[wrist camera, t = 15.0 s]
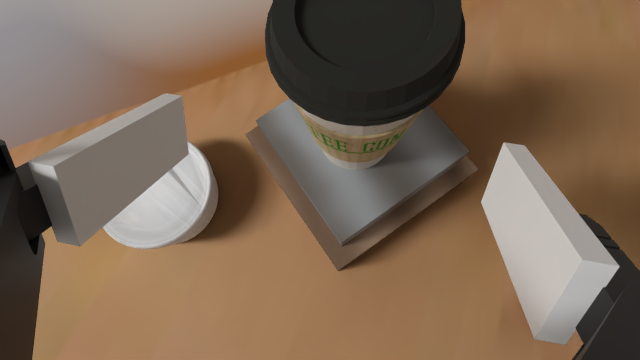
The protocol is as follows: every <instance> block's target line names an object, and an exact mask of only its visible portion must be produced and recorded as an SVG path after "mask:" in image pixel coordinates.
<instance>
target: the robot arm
mask: <svg viewBox="0 0 640 360" xmlns="http://www.w3.org/2000/svg"><path fill="white" fill-rule="evenodd" d="M188 154H189V151H188V142H187V133H186V124H185V116H184V107H183V98H182V96H180V95H173V94H166V93H165V94H163V95H161V96H159V97H157V98H155V99H153V100H151V101H149V102H147V103H145V104H143V105H141V106H139V107H137V108H135V109H133V110H131V111H129V112H127V113H125V114H123V115H121V116H119V117H117V118H115V119H113V120H111V121H109V122H107V123H105V124H103V125H101V126H99V127H97V128H95V129H93V130H91V131H89V132H87V133H85V134H83V135H81V136H79V137H77V138H75V139H73V140H70V141H68V142H66V143H64V144H62V145H60V146H58V147H56V148H54V149H52V150H50V151H48V152H46V153H44V154H42V155H40V156H38V157H36V158H34V159H32V160H30V161H28V162H27V163H25V164H23V165H21V166H19V167H17V168H15V166H14V163H13V161H12V158H11V156H10V153H9V151H8V148H7V146H6V143H5V141H3V140H0V360H32V355H33V346H34V337H35V328H36V319H37V310H38V301H39V292H40V284H41V275H42V266H43V257H44V248H45V242H44V239H43V236H42V234H41V233H42V232H44V231H45V230H47V229H48V228H49V227H51V226H52V228H53V231H54V234H55V236H56V239H57V242H61V243H66V244H71V245H76V246H81V245H82V244H83V243H85V242H86V241H87V240H88V239H89V238H91V237H92V236H93V235H94V234H95V233H96V232H98V231H99V230H100V229H101V228H102V227H103V226H105V225H106V224H107V223H108V222H109V221H111V220H112V219H113V218H114V217H115V216H116V215H118V214H119V213H120V212H121V211H122V210H124V209H125V208H126V207H127V206H128V205H129V204H131V203H132V202H133V201H134V200H135V199H136V198H138V197H139V196H140V195H141V194H142V193H144V192H145V191H146V190H147V189H148V188H149V187H151V186H152V185H153V184H154V183H155V182H157V181H158V180H159V179H160V178H161V177H162V176H164V175H165V174H166V173H167V172H168V171H169V170H171V169H172V168H173V167H174V166H175V165H177V164H178V163H179V162H180V161H181V160H182V159H184V158H185V157H186V156H187V155H188ZM481 203H482V206H483V208H484V211H485V214H486V216H487V219H488V221H489V224H490V226H491V229H492V232H493V234H494V237H495V239H496V242H497V244H498V247H499V250H500V252H501V255H502V257H503V260H504V262H505V265H506V268H507V270H508V273H509V275H510V278H511V280H512V283H513V285H514V288H515V291H516V293H517V296H518V298H519V301H520V303H521V306H522V309H523V311H524V314H525V316H526V319H527V321H528V324H529V327H530V329H531V332H532V334H533V337H534V339H538V340H543V341H548V342H553V343H558V344H562V345H566V343H567V342H568V341H569V339H570V338H571V336H572V335H573V333H574V332H575V330H577V332H578V334H579V336H580V337H581V339H582V341H583V343H584V344H583V345H582V347H581V348H580V349H579V351H578V352H577V353H576V355H575V356H574V357H573V359H572V360H640V271H639V270H638V269H637V268H636V266H635V265H634V264H633V263H632V262H631V261H630V259H629V258H628V257H627V256H626V255H625V253H624V252H623V251H622V250H620V247H619V246H618V245H617V244H616V243H615V241H614V240H611V239H612V238H611V237H610V236H609V234H608V233H607V232H606V231H605V230H604V228H603V227H602V226H601V225H599V224H598V223H596V222H595V221H594V220H592V219H591V218H589V217H588V216H587V215H582V214H578V213H577V212H576V210H575V209H574V208H573V206H572V205H571V204H570V203H569V201H568V200H567V199H566V198H565V196H564V195H563V194H562V192H561V191H560V190H559V189H558V187H557V186H556V185H555V184H554V182H553V181H552V180H551V178H550V177H549V176H548V175H547V173H546V172H545V171H544V170H543V168H542V167H541V166H540V164H539V163H538V162H537V161H536V159H535V158H534V157H533V156H532V154H531V153H530V152H529V150H528V149H527V148H526V147H525V145H518V144H512V143H505V142H504V143H503V145H502V148H501V151H500V153H499V156H498V158H497V161H496V164H495V166H494V169H493V172H492V174H491V177H490V180H489V182H488V185H487V188H486V190H485V193H484V196H483V198H482V201H481Z"/></svg>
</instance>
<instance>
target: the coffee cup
mask: <svg viewBox="0 0 640 360" xmlns="http://www.w3.org/2000/svg"><path fill="white" fill-rule="evenodd" d="M464 44H465V21H464V17H463V13H462V8H461V0H273V3H272V6H271V8H270V11H269V13H268V17H267V23H266V29H265V45H266V57H267V60H268V63H269V67H270V70H271V73H272V75H273V76H274V78H275V80H276V82H277V83H278V85H279V87H280V88H281V89H282V90H283V91H284V93H285V94H286V95H287V96H288V97H289V98H290V99H291V100H292V101H293V102H294V104H295V105H296V107H297V109H298V111H299V112H300V114H301V116H302V118H303V119H304V121H305V123H306V125H307V127H308V128H309V130H310V132H311V134H312V135H313V137H314V139H315V141H316V142H317V144H318V145H319V146H320V147H321V149H322V150H323V152H324V154H325V155H326V157H327V158H328V159H329V160H330V161H331V162H333V163H334V164H335V165H337V166H339V167H341V168H345V169H349V170H361V169H366V168H369V167H371V166H373V165H375V164H377V163H378V162H379V161H380V160H382V159H383V157H384V156H385V155H386V154H387V152H389V151H390V150H391V149H392V148H393V147H394V146H395V145H396V144H397V142H398V141H399V140H400V139H401V137H402V136H403V135H404V133H405V132H406V131H407V130H408V128H409V127H410V126H411V125H412V123H413V122H414V121H415V120H416V118H417V117H418V116H419V115H420V113H421V112H422V111H423V109H425V108H426V107H427V106H428V105H429V104H431V103H432V102H433V101H434V100H436V99H437V98H438V97H439V96H440V95H441V94H442V93H443V91H444V90H445V89H446V88H447V87H448V85H449V84H450V83H451V82H452V80H453V78H454V76H455V74H456V72H457V70H458V68H459V66H460V62H461V57H462V53H463V49H464Z"/></svg>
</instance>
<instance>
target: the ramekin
mask: <svg viewBox="0 0 640 360" xmlns="http://www.w3.org/2000/svg"><path fill="white" fill-rule="evenodd" d="M187 142H188V151H189V154H188V155H187V156H186V157H185V158H184V159H182V160H181V161H180V162H179V163H178V164H177V165H175V166H174V167H173V168H172V169H171V170H169V171H168V172H167V173H166V174H165V175H164V176H162V177H161V178H160V179H159V180H158V181H157V182H155V183H154V184H153V185H152V186H151V187H149V188H148V189H147V190H146V191H145V192H144V193H142V194H141V195H140V196H139V197H138V198H136V199H135V200H134V201H133V202H132V203H131V204H129V205H128V206H127V207H126V208H125V209H124V210H122V211H121V212H120V213H119V214H118V215H116V216H115V217H114V218H113V219H112V220H111V221H109V222H108V223H107V224H106V225H105V226H103V228H104V230H105V231H106V232H107V233H108V234H109V235H110V236H111V237H112V238H113V239H115V240H116V241H118V242H119V243H121V244H124V245H126V246H129V247H133V248H139V249H157V248H162V247H166V246H169V245H173V244H178V243H183V242H185V241H188V240H189V239H191V238H193V237H195V236H196V235H197V234H199V233H200V232H201V231H202V230H203V229H205V227H206V226H207V225H208V224H209V222H210V220H211V219H212V217H213V215H214V213H215V210H216V208H217V203H218V186H217V182H216V179H215V177H214V175H213V171H212V168H211V165H210V163H209V161H208V160H207V158H206V157H205V155H204V154H203V153H202V152H201V151H200V150H199V149H198V148H197V147H196V146H195V145H194V144H192V143H191V142H189V141H187Z"/></svg>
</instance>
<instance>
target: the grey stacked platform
mask: <svg viewBox="0 0 640 360" xmlns="http://www.w3.org/2000/svg"><path fill="white" fill-rule="evenodd" d="M256 122H257V124H258V125H259V126H257V127H256V128H254V129H253V130H251V131H250V132H248V133H246V134H245V135H246V137H247V138H248V140H249V141H250V143H251V144H252V146H253V147H254V149H255V150H256V152H257V153H258V154H259V156H260V157H261V159H262V160H263V162H264V163H265V165H266V166H267V168H268V169H269V171H270V172H271V173H272V175H273V176H274V178H275V179H276V181H277V182H278V184H279V185H280V187H281V188H282V190H283V191H284V192H285V194H286V195H287V197H288V198H289V200H290V201H291V203H292V204H293V206H294V207H295V209H296V210H297V211H298V213H299V214H300V216H301V217H302V219H303V220H304V222H305V223H306V225H307V226H308V228H309V229H310V231H311V232H312V233H313V235H314V236H315V238H316V239H317V241H318V242H319V244H320V245H321V247H322V248H323V250H324V251H325V252H326V254H327V255H328V257H329V258H330V260H331V261H332V263H333V264H334V266H335V267H336V269H337V270H338V271H340V270H341V269H342V268H344V267H345V266H347V265H348V264H349V263H351V262H352V261H353V260H355V259H356V258H358V257H359V256H360V255H362V254H363V253H365V252H366V251H367V250H369V249H370V248H371V247H373V246H374V245H376V244H377V243H378V242H380V241H381V240H383V239H384V238H385V237H387V236H388V235H390V234H391V233H392V232H394V231H395V230H396V229H398V228H399V227H401V226H402V225H403V224H405V223H406V222H408V221H409V220H410V219H412V218H413V217H415V216H416V215H417V214H419V213H420V212H421V211H423V210H424V209H426V208H427V207H428V206H430V205H431V204H433V203H434V202H435V201H437V200H438V199H440V198H441V197H442V196H444V195H445V194H446V193H448V192H449V191H451V190H452V189H453V188H455V187H456V186H458V185H459V184H460V183H462V182H463V181H464V180H466V179H467V178H468V177H470V176H471V175H472V174H473V173H475V172H476V171H477V170H478V168H477V167H476V166H475V164H474V163H473V162H472V161H471V160H470V159H469V158H468V156H467V154H468V153H469V152H470V151H469V150H468V149H467V147H466V146H465V145H464V144H463V143H462V142H461V141H460V139H459V138H458V137H457V136H456V135H455V134H454V133H453V132H452V130H451V129H450V128H449V127H448V126H447V125H446V124H445V122H444V121H443V120H442V119H441V118H440V117H439V116H438V115H437V113H436V112H435V111H434V110H433V109H432V108H431V107H430V105H428V106H427V107H426V108H425V109H423V111H422V112H421V113H420V115H419V116H418V117H417V118H416V120H415V121H414V122H413V123H412V125H411V126H410V127H409V128H408V130H407V131H406V132H405V133H404V135H403V136H402V137H401V139H400V140H399V141H398V142H397V144H396V145H395V146H394V147H393V148H392V149H391V150H390V151H389V152H387V154H386V155H385V156H384V157H383V159H382V160H380V161H379V162H378V163H377V164H375V165H373V166H371V167H369V168H366V169H361V170H349V169H345V168H341V167H339V166H337V165H335V164H334V163H333V162H331V161H330V160H329V159H328V158H327V157H326V155H325V154H324V152H323V150H322V149H321V147H320V146H319V145H318V144H317V142H316V141H315V139H314V137H313V135H312V134H311V132H310V130H309V128H308V127H307V125H306V123H305V121H304V119H303V118H302V116H301V114H300V112H299V111H298V109H297V107H296V105H295V104H294V102H293V101H292V100H291V99H290V98H289V99H288V100H286V101H285V102H283V103H282V104H280V105H279V106H277V107H276V108H274V109H273V110H271V111H269V112H268V113H266V114H265V115H263V116H262V117H260V118H259V119H257V120H256Z"/></svg>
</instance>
